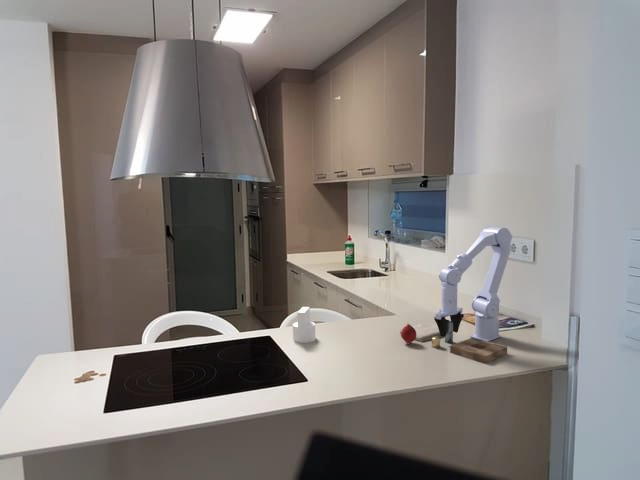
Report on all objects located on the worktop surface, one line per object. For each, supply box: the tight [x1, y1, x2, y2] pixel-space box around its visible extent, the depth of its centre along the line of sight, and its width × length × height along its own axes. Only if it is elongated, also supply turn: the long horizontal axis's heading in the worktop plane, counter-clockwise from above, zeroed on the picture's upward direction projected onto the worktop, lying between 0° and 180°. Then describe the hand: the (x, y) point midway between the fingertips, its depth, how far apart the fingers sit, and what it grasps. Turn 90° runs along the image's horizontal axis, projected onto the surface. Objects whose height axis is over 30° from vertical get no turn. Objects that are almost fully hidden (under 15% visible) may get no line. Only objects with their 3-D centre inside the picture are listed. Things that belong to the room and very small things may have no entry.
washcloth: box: [399, 322, 441, 343], centre depth 182 cm, size 12×18×3 cm, turn 123°
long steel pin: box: [444, 320, 454, 344], centre depth 172 cm, size 3×3×8 cm
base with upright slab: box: [292, 306, 316, 344], centre depth 179 cm, size 9×9×12 cm
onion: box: [400, 322, 416, 345], centre depth 171 cm, size 6×6×8 cm
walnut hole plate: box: [449, 337, 508, 364], centre depth 160 cm, size 14×14×2 cm
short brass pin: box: [431, 336, 441, 349], centre depth 168 cm, size 3×3×4 cm
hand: (448, 333), depth 172 cm, fingers open, 7 cm apart
